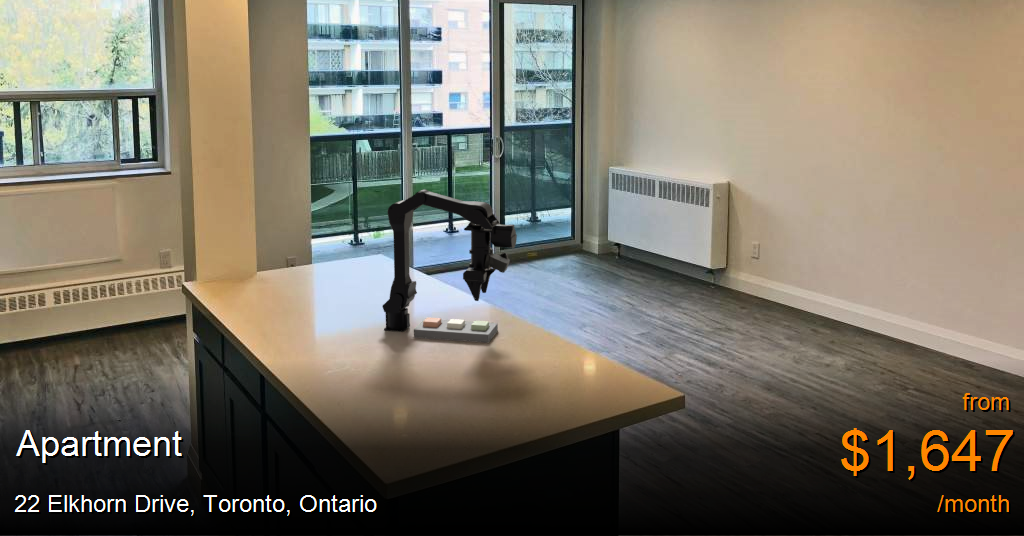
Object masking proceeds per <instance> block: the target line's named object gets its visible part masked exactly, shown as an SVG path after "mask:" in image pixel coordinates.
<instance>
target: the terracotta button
mask: <svg viewBox="0 0 1024 536" xmlns="http://www.w3.org/2000/svg"><path fill="white" fill-rule="evenodd" d="M424 319H425V318H424ZM424 319H423V320H424ZM441 319H442V318H441V317H429V316H427V317H426V319H425V320H424V321H423V320H422V321H423V327H439V326H440V325H441Z"/></svg>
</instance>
